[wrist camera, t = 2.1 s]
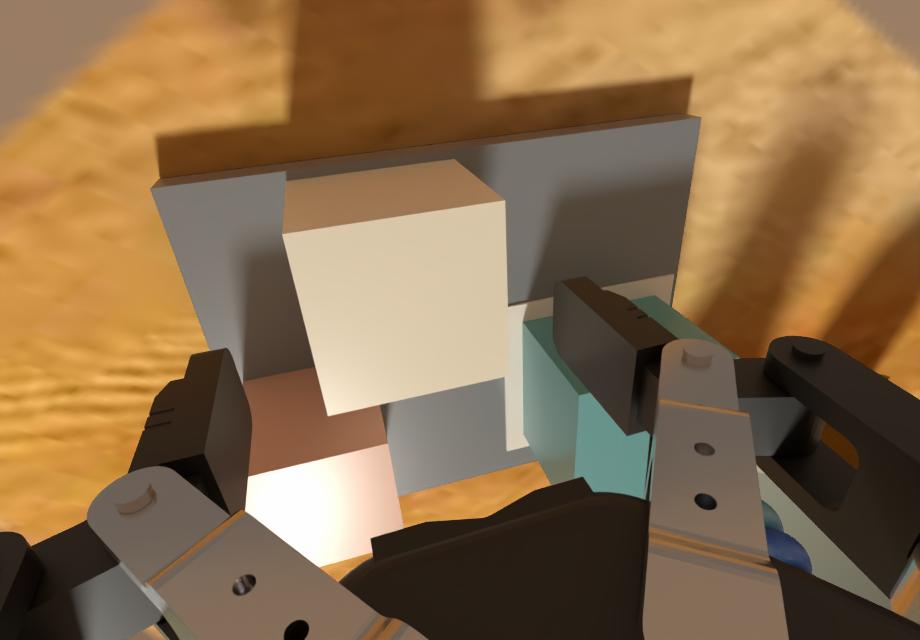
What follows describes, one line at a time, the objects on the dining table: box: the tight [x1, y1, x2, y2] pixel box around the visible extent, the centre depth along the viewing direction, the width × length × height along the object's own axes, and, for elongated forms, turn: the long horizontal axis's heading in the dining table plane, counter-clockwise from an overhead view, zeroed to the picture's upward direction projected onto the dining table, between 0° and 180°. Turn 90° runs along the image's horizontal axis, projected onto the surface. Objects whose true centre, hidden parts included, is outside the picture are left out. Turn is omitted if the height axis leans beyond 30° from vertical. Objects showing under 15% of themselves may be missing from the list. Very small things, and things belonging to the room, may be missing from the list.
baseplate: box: [150, 113, 701, 497], centre depth 21 cm, size 18×15×1 cm
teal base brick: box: [522, 295, 740, 499], centre depth 21 cm, size 6×6×5 cm
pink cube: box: [243, 367, 404, 567], centre depth 18 cm, size 5×5×5 cm
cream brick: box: [282, 159, 510, 416], centre depth 16 cm, size 5×5×5 cm
